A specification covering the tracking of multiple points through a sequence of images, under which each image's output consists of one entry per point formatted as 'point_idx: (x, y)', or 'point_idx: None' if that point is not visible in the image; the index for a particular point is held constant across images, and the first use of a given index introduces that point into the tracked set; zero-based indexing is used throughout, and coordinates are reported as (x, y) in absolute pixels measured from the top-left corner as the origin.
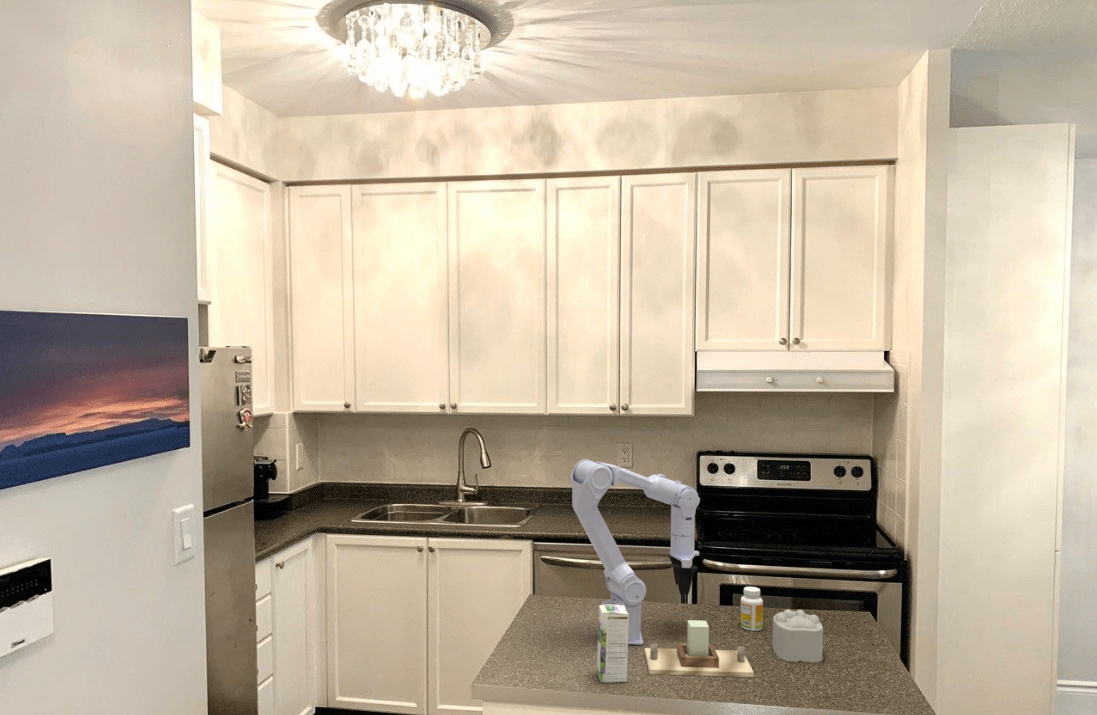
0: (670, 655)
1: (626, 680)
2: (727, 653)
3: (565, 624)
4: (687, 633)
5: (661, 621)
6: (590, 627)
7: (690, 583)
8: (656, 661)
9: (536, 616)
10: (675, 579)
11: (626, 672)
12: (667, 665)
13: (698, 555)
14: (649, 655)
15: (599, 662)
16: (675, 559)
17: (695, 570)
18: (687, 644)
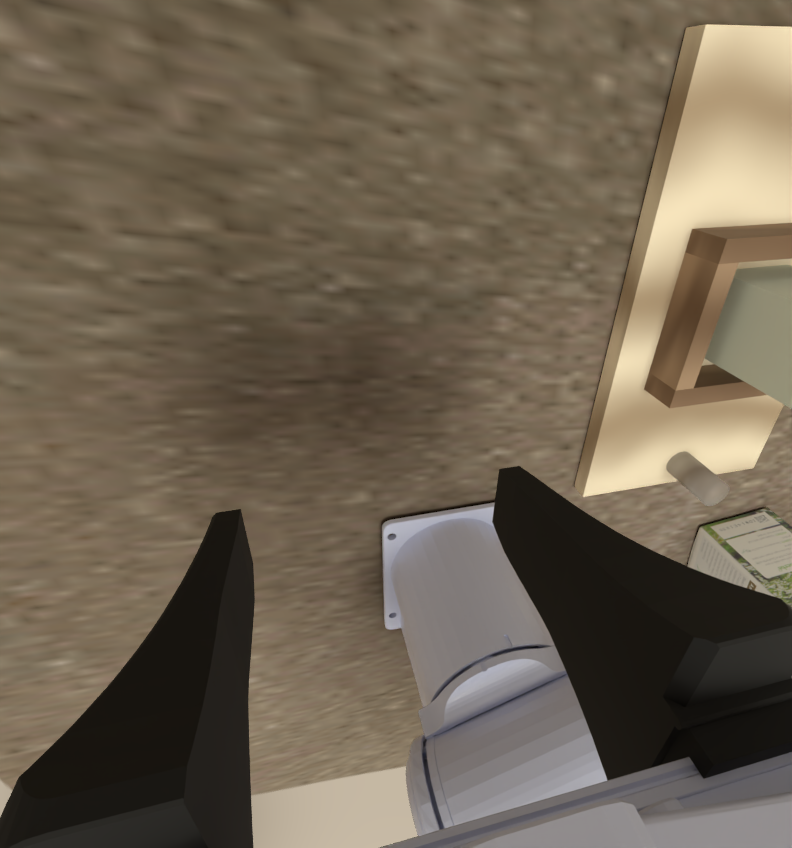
0: (668, 411)
1: (770, 510)
2: (715, 141)
3: (323, 710)
4: (773, 397)
5: (194, 453)
6: (339, 656)
7: (593, 521)
8: (704, 453)
9: (265, 775)
10: (251, 606)
11: (790, 527)
12: (744, 418)
13: (629, 804)
14: (651, 477)
15: None
16: (240, 843)
17: (785, 609)
18: (735, 372)
